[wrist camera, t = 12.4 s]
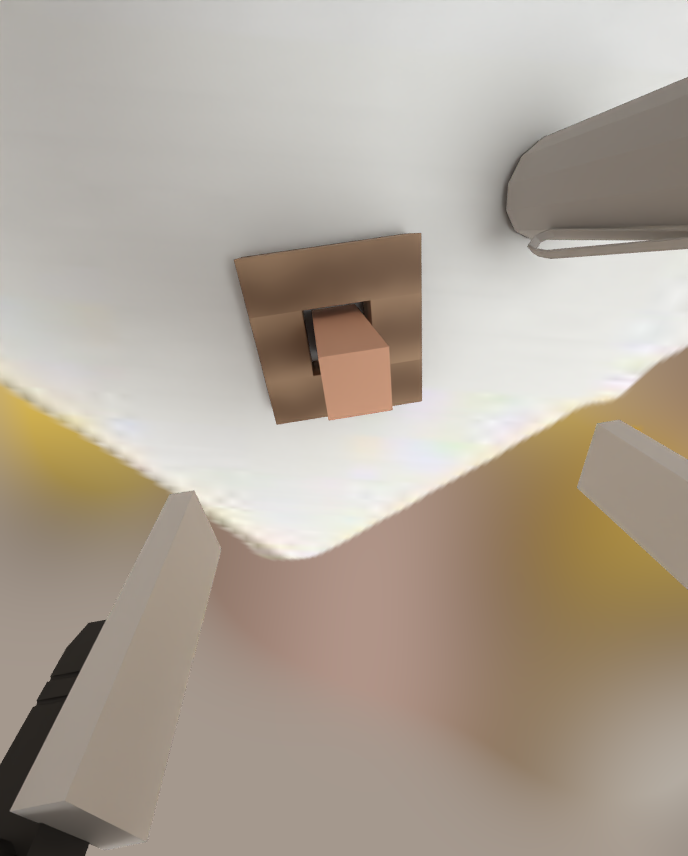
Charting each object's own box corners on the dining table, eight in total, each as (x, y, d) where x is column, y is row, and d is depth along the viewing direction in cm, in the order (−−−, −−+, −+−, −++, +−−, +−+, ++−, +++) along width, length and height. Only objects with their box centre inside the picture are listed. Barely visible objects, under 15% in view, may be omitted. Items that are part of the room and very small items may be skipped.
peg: (311, 310, 30) (318, 357, 18) (354, 303, 31) (389, 346, 19) (318, 352, 32) (328, 420, 20) (358, 346, 33) (392, 410, 21)
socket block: (242, 257, 28) (233, 259, 24) (406, 233, 28) (421, 232, 25) (279, 406, 35) (276, 424, 31) (410, 385, 35) (421, 401, 32)
